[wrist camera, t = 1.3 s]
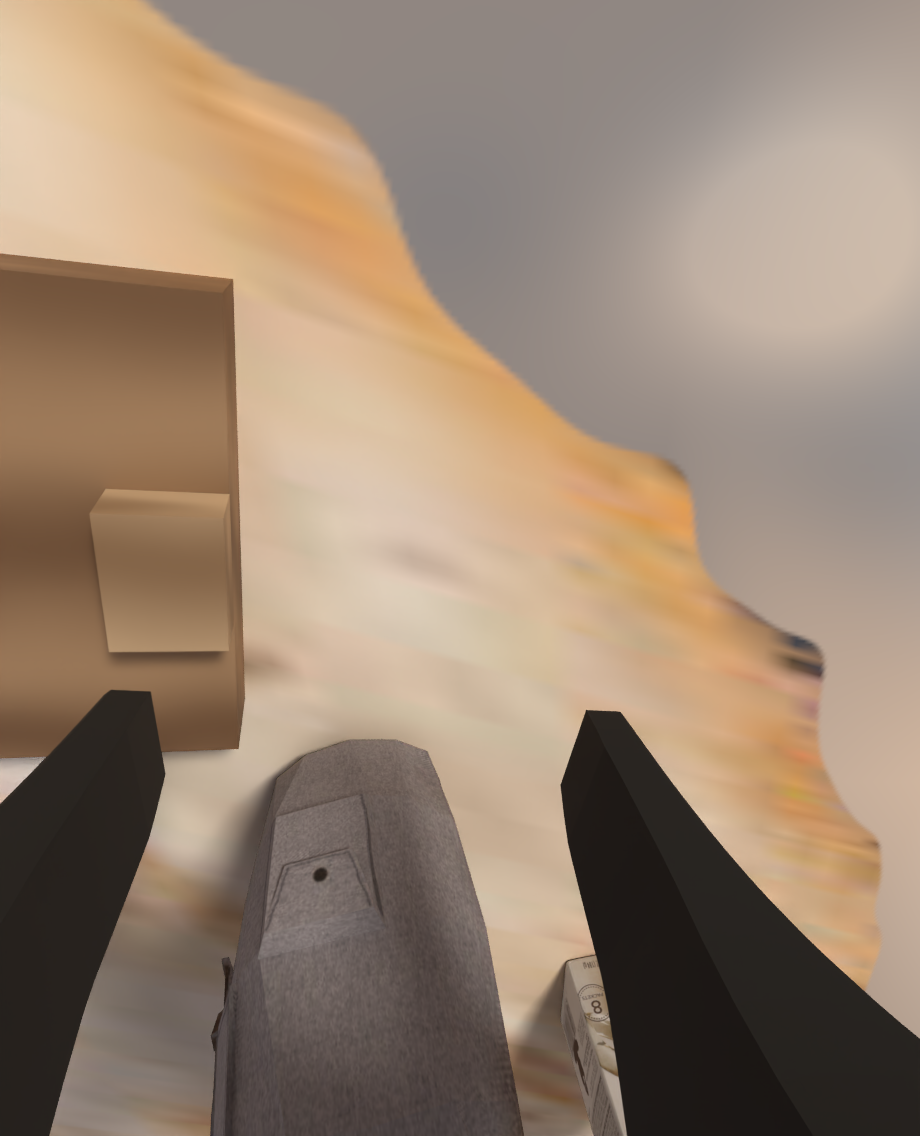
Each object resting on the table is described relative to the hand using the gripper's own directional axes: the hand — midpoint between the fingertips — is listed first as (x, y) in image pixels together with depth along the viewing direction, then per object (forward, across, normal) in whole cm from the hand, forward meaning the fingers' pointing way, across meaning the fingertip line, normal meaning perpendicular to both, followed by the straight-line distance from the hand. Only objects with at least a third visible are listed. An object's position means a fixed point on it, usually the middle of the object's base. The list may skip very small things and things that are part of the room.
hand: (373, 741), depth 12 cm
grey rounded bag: (+10, 0, +16) cm, 19 cm away
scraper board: (+11, +9, +2) cm, 14 cm away
